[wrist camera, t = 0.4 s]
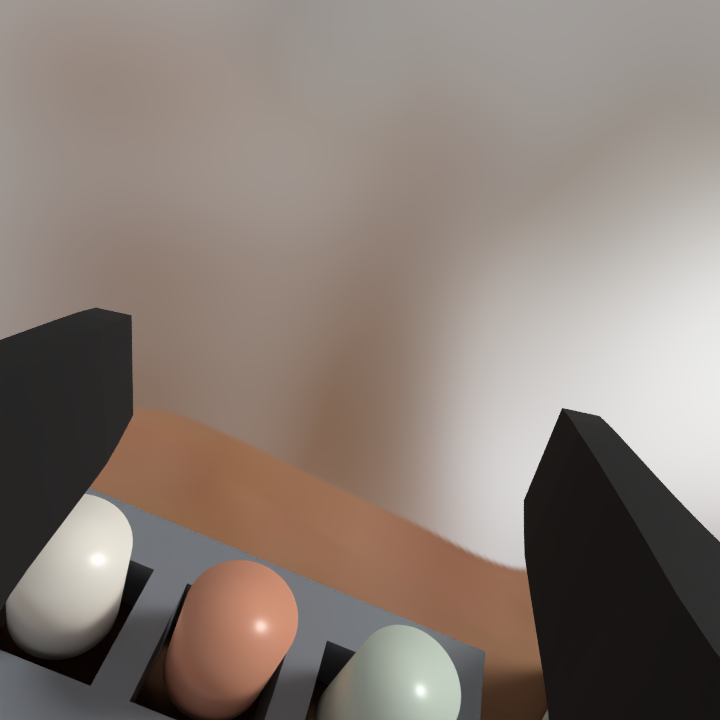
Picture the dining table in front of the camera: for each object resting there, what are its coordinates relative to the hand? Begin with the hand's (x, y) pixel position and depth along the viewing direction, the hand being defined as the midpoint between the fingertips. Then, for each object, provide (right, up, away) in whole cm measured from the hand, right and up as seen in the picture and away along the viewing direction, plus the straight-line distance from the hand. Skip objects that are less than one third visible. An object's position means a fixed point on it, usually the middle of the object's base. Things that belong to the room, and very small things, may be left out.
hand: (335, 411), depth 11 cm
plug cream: (-10, -8, +13) cm, 19 cm away
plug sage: (+1, -13, +14) cm, 19 cm away
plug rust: (-5, -11, +13) cm, 18 cm away
